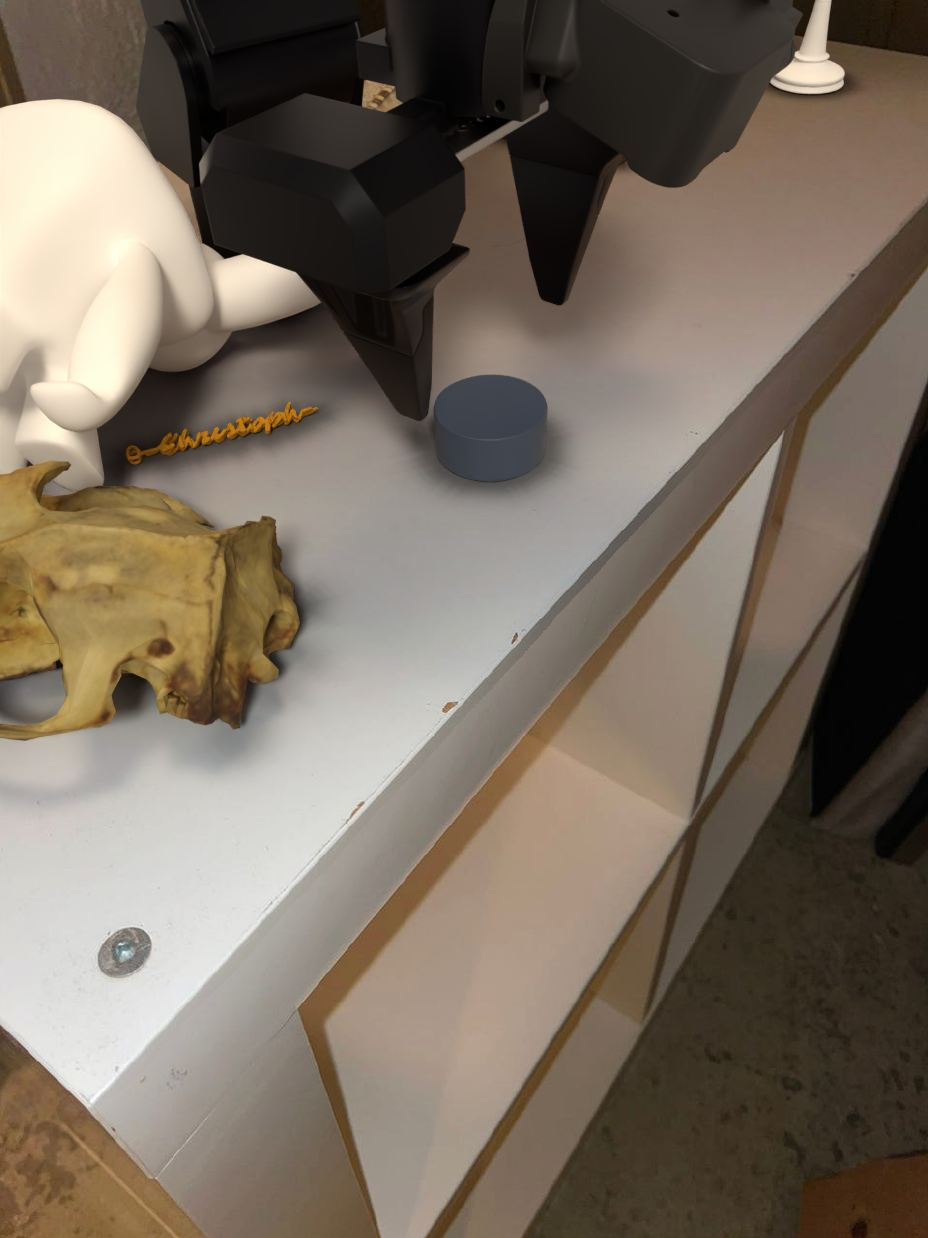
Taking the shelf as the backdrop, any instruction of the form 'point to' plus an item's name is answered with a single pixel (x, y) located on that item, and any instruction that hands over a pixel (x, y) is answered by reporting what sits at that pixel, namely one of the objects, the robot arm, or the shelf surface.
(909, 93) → the shelf surface
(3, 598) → the animal skull
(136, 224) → the toy animal
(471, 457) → the short blue cylinder
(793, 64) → the chess piece
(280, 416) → the keychain
